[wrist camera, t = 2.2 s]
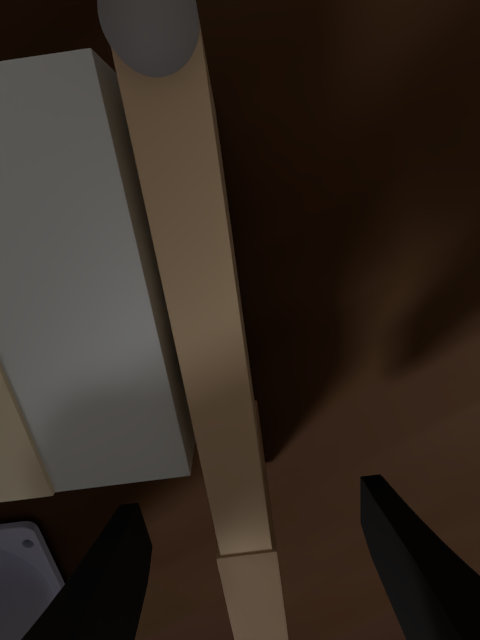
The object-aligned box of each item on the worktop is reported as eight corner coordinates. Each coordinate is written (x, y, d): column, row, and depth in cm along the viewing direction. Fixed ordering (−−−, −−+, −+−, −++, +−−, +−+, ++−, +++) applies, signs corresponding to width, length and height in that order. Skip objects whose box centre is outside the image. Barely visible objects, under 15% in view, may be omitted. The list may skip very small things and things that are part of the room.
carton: (206, 355, 14) (190, 479, 8) (2, 381, 14) (-160, 522, 8) (163, 120, 11) (88, 45, 5) (-94, 156, 11) (-456, 125, 5)
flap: (266, 470, 16) (291, 665, 9) (235, 473, 16) (238, 671, 9) (216, 89, 10) (196, -61, 4) (169, 96, 10) (75, -44, 4)
